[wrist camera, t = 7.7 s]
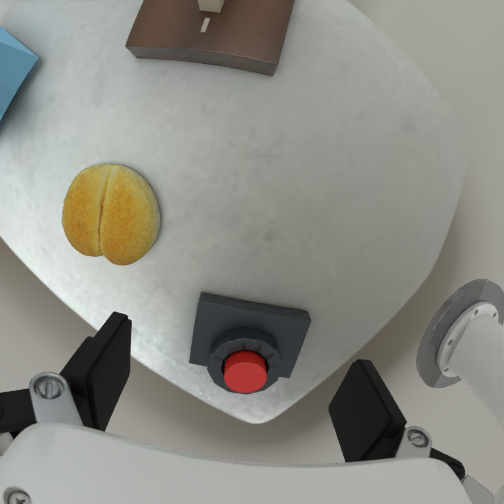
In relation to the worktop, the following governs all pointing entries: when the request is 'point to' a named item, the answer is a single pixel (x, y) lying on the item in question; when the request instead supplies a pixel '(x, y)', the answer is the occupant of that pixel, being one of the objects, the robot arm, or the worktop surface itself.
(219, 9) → the handle
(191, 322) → the worktop surface
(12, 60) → the teapot
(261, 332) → the button block
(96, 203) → the bread roll
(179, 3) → the panel
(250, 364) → the button
